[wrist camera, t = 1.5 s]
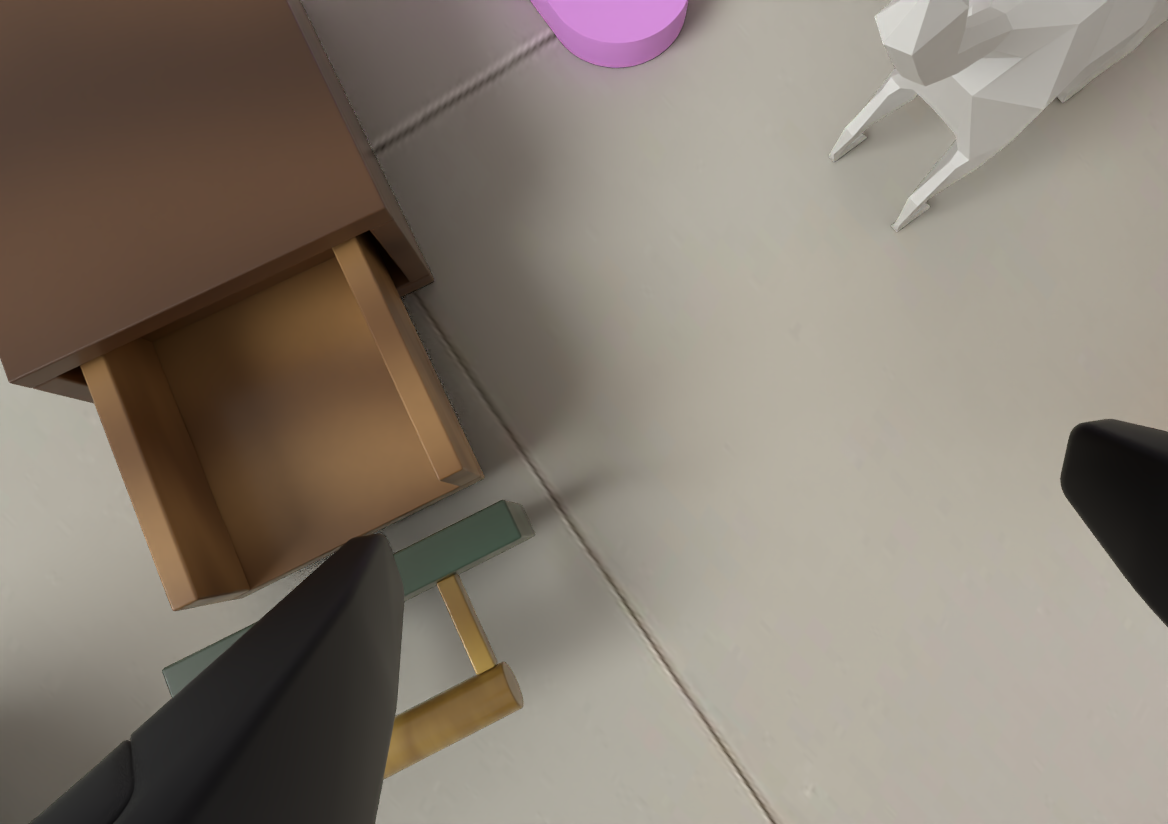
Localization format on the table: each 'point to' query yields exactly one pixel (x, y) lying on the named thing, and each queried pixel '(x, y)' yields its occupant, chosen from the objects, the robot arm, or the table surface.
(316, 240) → the cabinet
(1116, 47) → the cat figurine
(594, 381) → the table surface
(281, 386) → the drawer
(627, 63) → the bracket
